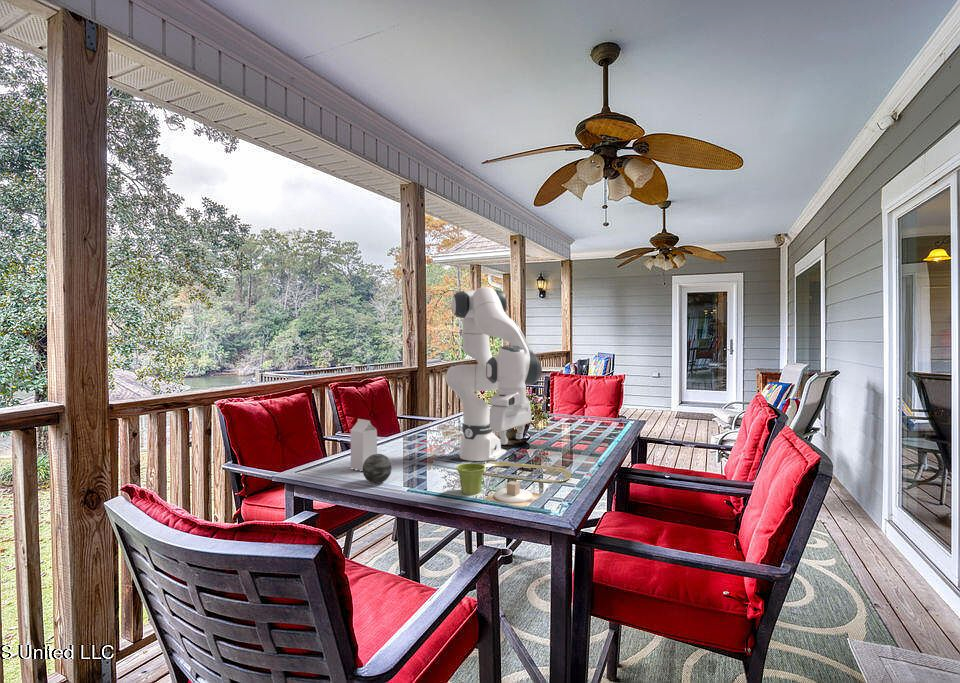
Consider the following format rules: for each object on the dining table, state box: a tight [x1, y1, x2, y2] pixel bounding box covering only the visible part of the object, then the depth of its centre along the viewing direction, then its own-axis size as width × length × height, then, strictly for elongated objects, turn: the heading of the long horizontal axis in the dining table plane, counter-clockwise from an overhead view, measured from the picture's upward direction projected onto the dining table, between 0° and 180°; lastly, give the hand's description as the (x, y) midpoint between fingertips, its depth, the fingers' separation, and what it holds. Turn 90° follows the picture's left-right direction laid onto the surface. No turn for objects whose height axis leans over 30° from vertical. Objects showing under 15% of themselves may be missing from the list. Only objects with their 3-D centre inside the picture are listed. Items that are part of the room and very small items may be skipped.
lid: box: [493, 480, 532, 503], centre depth 153 cm, size 12×12×4 cm
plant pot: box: [456, 462, 486, 496], centre depth 158 cm, size 9×9×9 cm
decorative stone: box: [362, 453, 393, 484], centre depth 169 cm, size 10×10×10 cm
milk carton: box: [350, 418, 378, 472], centre depth 187 cm, size 7×7×19 cm
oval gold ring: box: [482, 461, 572, 484], centre depth 180 cm, size 19×35×2 cm, turn 67°
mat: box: [482, 486, 544, 509], centre depth 153 cm, size 14×14×1 cm
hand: (512, 441), depth 153 cm, fingers open, 8 cm apart
